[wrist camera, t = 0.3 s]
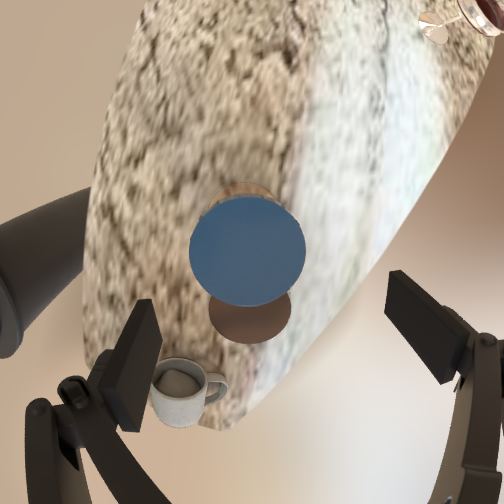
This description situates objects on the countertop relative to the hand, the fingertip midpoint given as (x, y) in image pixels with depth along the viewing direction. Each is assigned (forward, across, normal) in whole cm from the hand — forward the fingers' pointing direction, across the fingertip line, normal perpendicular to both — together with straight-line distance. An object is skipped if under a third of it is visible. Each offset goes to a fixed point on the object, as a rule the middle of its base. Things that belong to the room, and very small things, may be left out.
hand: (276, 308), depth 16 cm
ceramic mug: (+19, -11, -22) cm, 31 cm away
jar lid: (+8, -1, 0) cm, 8 cm away
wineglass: (+18, +26, +25) cm, 40 cm away
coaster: (+18, -1, -11) cm, 21 cm away
